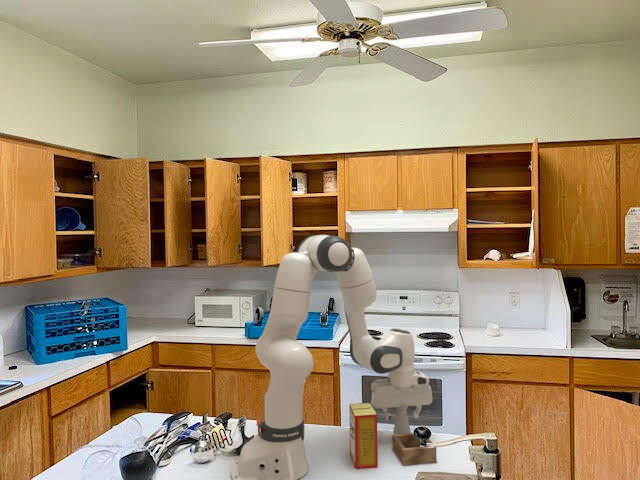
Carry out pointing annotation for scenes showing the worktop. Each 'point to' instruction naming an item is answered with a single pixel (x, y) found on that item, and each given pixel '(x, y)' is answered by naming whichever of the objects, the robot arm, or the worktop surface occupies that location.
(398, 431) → the salt shaker
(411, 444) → the box
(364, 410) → the baking soda box
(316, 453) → the worktop surface
